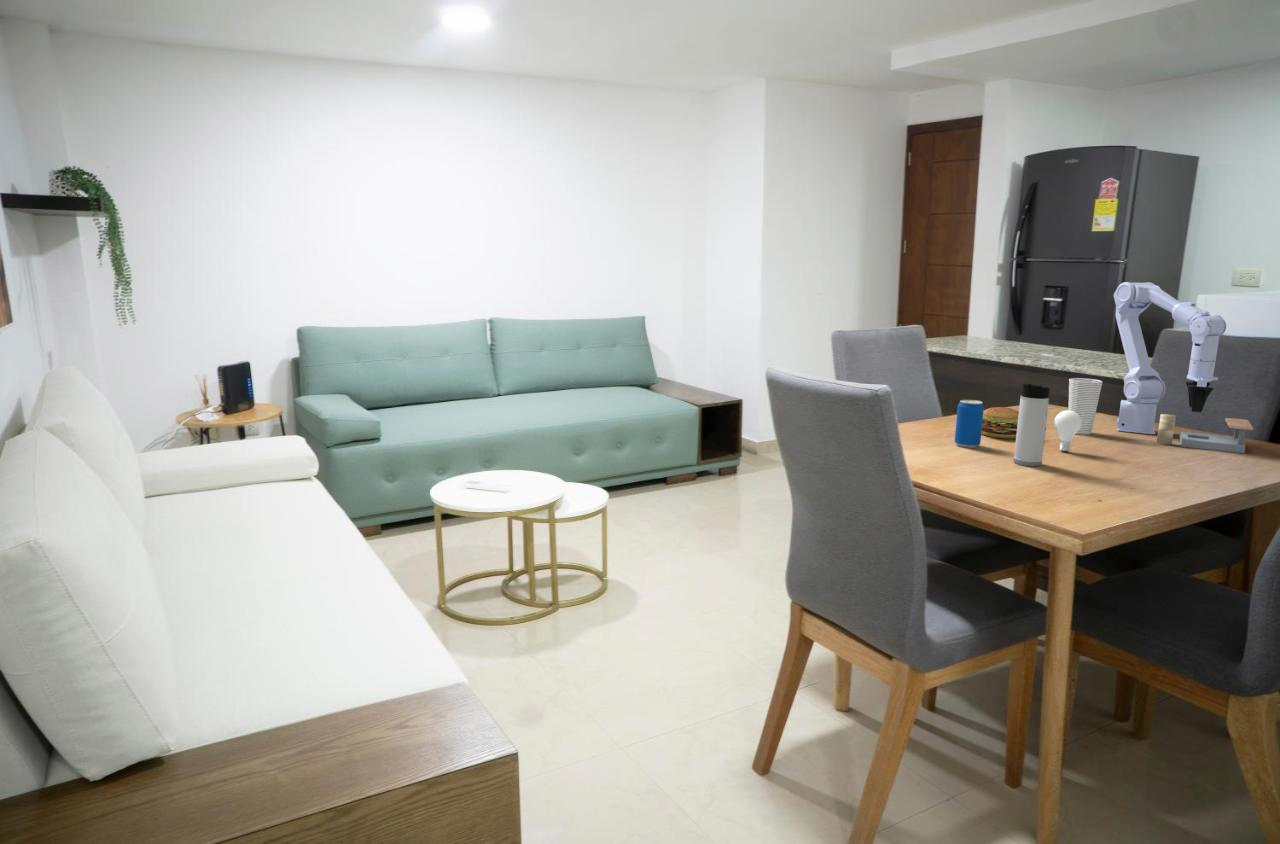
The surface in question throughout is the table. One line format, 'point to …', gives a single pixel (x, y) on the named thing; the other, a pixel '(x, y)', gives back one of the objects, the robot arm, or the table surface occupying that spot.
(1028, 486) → the table surface
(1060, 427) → the lightbulb
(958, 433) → the beverage can
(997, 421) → the food
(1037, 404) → the travel mug
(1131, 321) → the robot arm
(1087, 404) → the cup
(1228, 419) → the socket station
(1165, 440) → the peg
